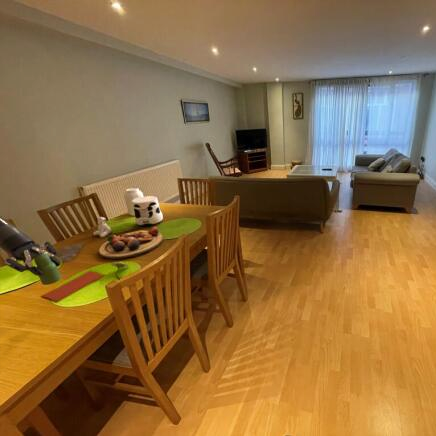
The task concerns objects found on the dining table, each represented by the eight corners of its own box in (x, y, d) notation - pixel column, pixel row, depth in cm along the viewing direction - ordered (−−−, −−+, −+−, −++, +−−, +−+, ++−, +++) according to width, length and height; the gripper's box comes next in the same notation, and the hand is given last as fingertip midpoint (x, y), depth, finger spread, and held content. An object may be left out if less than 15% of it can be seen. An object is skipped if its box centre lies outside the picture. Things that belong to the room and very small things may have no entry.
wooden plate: (159, 229, 163) (157, 218, 159) (166, 249, 138) (163, 236, 135) (101, 242, 146) (97, 229, 143) (97, 266, 122) (92, 252, 119)
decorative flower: (124, 267, 108) (111, 256, 117) (115, 280, 107) (103, 268, 115) (140, 272, 114) (127, 261, 123) (132, 284, 113) (119, 273, 121)
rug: (49, 264, 124) (48, 262, 123) (63, 247, 140) (62, 246, 140) (73, 259, 128) (72, 258, 127) (84, 244, 144) (83, 242, 144)
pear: (47, 286, 90) (33, 257, 85) (38, 283, 92) (24, 254, 87) (65, 277, 95) (52, 249, 90) (56, 274, 97) (43, 247, 92)
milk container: (156, 216, 184) (150, 194, 178) (168, 221, 175) (163, 198, 168) (132, 224, 171) (125, 200, 164) (143, 230, 162) (137, 204, 155)
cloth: (57, 301, 98) (56, 301, 98) (42, 296, 101) (41, 295, 101) (104, 275, 115) (103, 275, 115) (90, 271, 118) (89, 271, 118)
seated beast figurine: (92, 235, 155) (86, 218, 150) (106, 230, 162) (101, 213, 157) (102, 238, 151) (95, 220, 147) (115, 232, 158) (110, 215, 154)
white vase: (151, 211, 195) (145, 187, 188) (138, 216, 184) (131, 191, 176) (138, 209, 198) (132, 186, 191) (125, 215, 187) (118, 190, 180)
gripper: (-13, 243, 81) (31, 276, 83) (36, 225, 94) (73, 254, 96) (-17, 255, 83) (26, 286, 86) (31, 236, 96) (66, 264, 99)
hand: (50, 269), depth 91 cm, fingers closed on pear, 5 cm apart
